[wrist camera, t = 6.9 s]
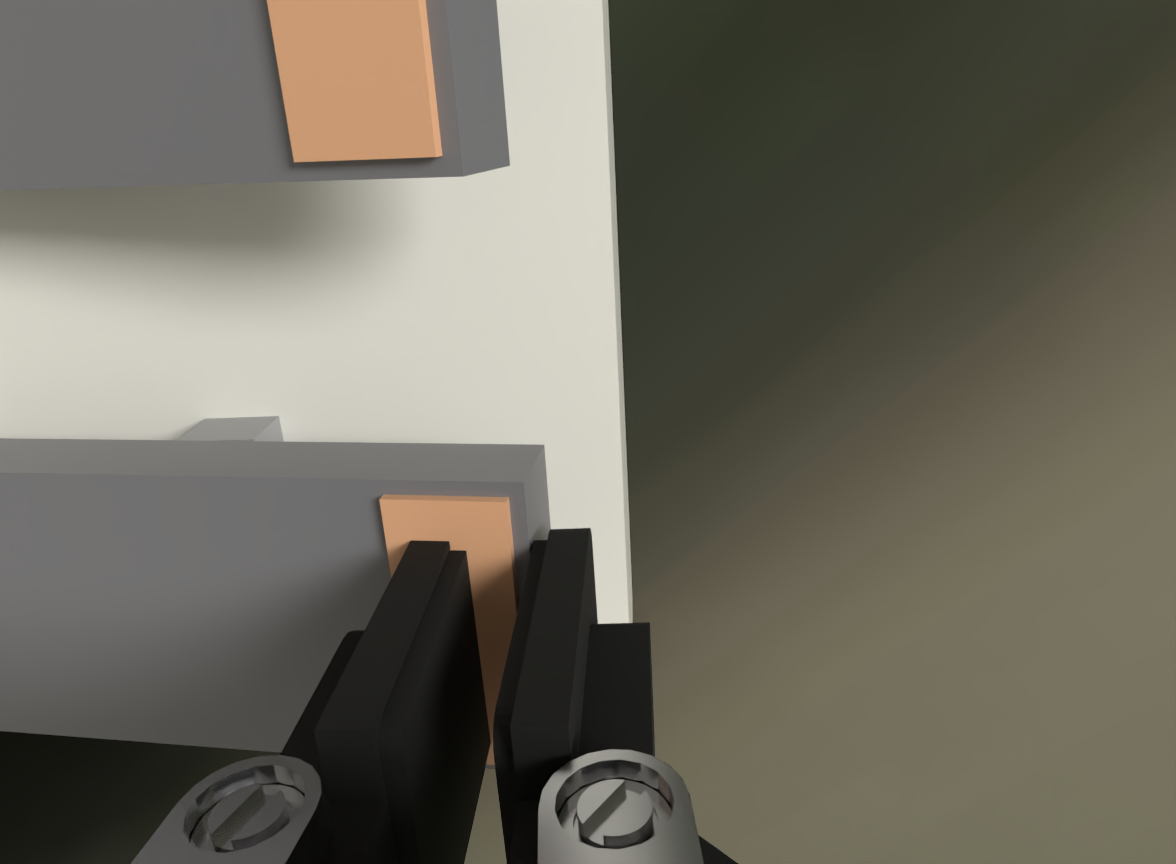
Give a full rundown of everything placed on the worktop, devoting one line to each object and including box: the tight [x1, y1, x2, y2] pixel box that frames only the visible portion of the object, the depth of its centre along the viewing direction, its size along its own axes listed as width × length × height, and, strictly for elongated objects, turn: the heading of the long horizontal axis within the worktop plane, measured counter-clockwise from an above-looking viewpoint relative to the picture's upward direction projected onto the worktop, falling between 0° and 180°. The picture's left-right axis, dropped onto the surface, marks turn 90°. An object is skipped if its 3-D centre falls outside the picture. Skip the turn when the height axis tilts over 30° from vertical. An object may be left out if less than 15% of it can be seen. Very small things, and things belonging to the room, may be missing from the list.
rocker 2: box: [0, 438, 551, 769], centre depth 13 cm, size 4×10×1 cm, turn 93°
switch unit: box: [0, 0, 632, 624], centre depth 13 cm, size 24×18×5 cm
